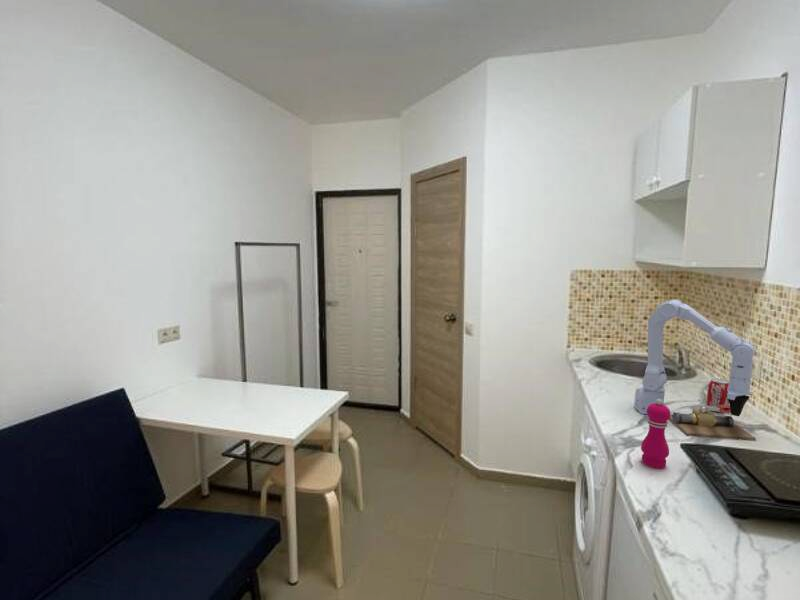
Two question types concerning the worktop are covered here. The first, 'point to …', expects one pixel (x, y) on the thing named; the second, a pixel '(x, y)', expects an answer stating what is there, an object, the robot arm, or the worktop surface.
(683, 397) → the worktop surface
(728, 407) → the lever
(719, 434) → the mounting board
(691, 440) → the worktop surface
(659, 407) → the pepper mill
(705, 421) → the valve pipe
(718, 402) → the soda can
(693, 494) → the worktop surface
